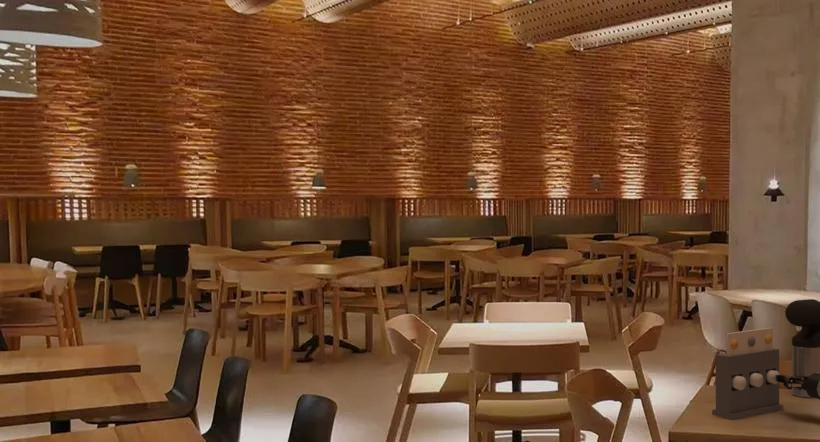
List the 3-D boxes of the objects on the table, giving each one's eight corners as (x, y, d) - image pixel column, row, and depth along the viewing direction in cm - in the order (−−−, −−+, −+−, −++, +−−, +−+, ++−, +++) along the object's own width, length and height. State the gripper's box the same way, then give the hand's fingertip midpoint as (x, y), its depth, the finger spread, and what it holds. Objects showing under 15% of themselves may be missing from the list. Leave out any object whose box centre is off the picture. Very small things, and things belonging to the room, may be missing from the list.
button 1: (738, 387, 273) (738, 374, 273) (746, 389, 270) (746, 376, 270) (729, 389, 271) (729, 375, 271) (737, 390, 268) (737, 377, 268)
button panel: (762, 404, 286) (762, 346, 286) (783, 409, 279) (783, 349, 279) (712, 414, 275) (711, 353, 274) (732, 419, 268) (732, 357, 267)
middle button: (755, 384, 277) (755, 371, 276) (763, 386, 274) (763, 373, 274) (746, 386, 275) (746, 373, 274) (754, 387, 272) (754, 374, 272)
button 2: (772, 381, 280) (772, 368, 280) (780, 383, 278) (780, 370, 278) (763, 383, 278) (763, 370, 278) (771, 384, 276) (771, 371, 276)
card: (771, 348, 281) (770, 327, 281) (773, 349, 280) (773, 328, 280) (726, 355, 271) (726, 333, 271) (729, 356, 270) (729, 333, 270)
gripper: (840, 373, 264) (790, 364, 279) (812, 378, 258) (763, 368, 273) (840, 397, 264) (791, 386, 280) (812, 403, 258) (763, 391, 273)
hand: (777, 377), depth 276 cm, fingers closed
